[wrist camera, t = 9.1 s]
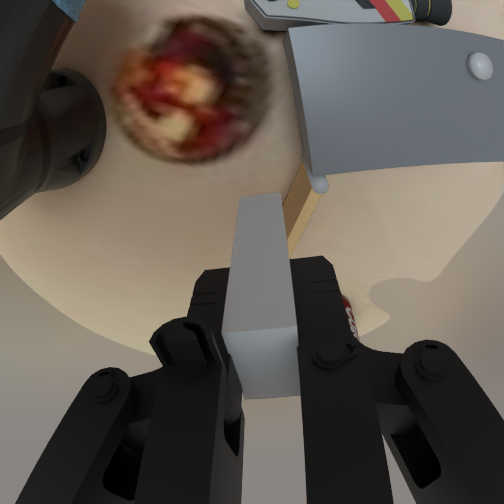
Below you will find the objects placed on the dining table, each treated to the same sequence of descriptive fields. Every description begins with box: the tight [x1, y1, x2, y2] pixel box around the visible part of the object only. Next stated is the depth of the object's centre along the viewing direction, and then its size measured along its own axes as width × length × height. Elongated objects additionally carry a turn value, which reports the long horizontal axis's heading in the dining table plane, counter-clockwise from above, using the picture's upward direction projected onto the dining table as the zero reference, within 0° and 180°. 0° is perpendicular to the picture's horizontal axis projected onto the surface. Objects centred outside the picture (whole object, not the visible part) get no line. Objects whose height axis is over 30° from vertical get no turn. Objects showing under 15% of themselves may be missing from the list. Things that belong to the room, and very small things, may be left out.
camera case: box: [283, 23, 504, 177], centre depth 23 cm, size 23×12×10 cm, turn 101°
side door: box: [283, 154, 329, 259], centre depth 32 cm, size 16×2×8 cm, turn 160°
